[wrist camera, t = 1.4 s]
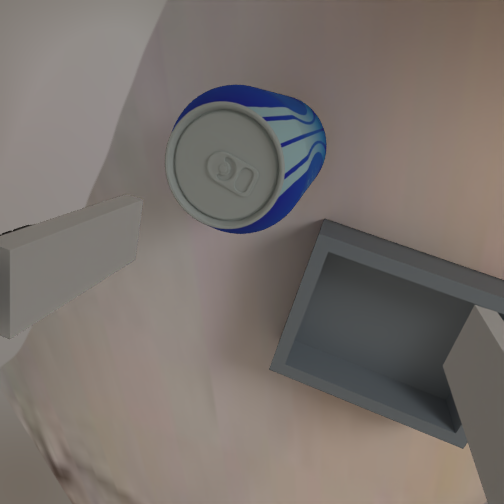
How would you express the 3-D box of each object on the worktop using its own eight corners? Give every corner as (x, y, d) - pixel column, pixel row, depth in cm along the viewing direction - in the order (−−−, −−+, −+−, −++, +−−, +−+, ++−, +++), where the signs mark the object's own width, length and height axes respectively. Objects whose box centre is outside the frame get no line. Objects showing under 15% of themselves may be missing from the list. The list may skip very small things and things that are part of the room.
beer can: (255, 205, 37) (187, 263, 23) (221, 120, 36) (123, 123, 21) (340, 174, 34) (326, 217, 20) (307, 78, 33) (264, 49, 18)
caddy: (324, 218, 36) (319, 233, 31) (527, 288, 33) (553, 315, 29) (279, 341, 41) (269, 369, 37) (451, 409, 39) (463, 448, 34)
